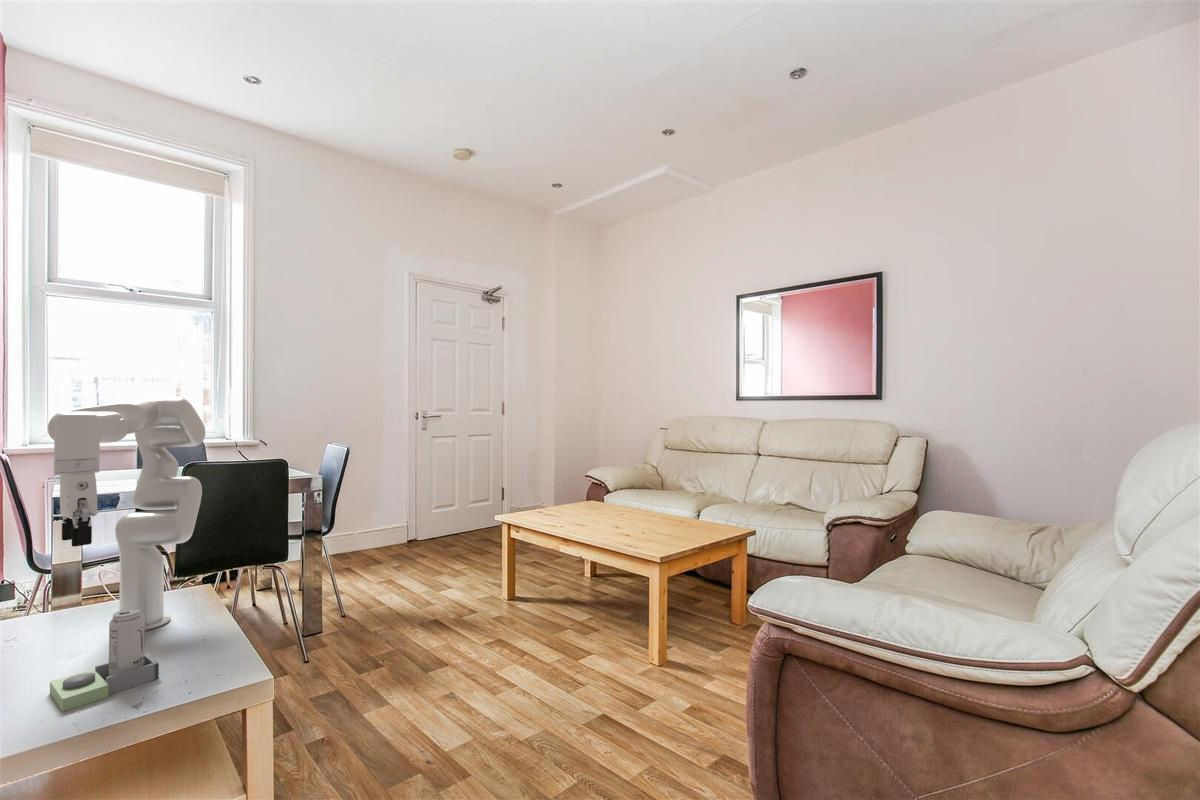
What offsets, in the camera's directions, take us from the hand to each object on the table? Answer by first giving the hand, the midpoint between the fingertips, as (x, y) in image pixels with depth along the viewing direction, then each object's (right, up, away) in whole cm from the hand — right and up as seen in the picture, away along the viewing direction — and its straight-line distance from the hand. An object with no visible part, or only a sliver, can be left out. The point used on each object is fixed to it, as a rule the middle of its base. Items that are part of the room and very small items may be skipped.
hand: (76, 542), depth 124 cm
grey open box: (+12, -30, -5) cm, 33 cm away
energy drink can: (+13, -30, -2) cm, 33 cm away
